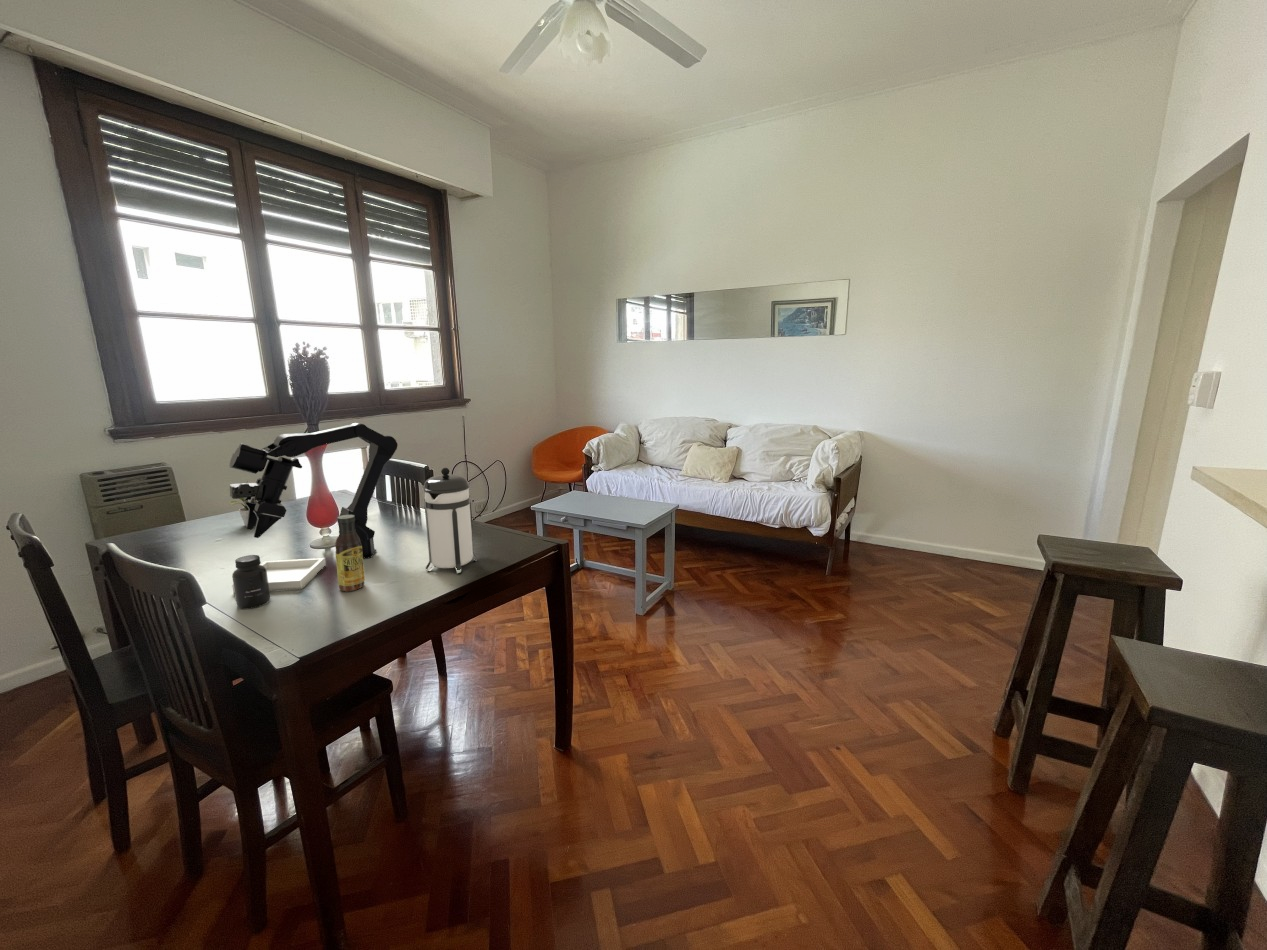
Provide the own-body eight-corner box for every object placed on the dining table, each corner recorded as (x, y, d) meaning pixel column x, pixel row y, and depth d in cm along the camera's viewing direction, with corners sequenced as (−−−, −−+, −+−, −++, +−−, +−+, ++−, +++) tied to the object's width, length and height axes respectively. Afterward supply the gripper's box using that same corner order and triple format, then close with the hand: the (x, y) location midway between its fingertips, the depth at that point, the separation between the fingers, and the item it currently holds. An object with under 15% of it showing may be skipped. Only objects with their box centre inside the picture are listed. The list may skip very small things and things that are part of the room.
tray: (325, 565, 149) (324, 557, 148) (301, 589, 133) (300, 580, 133) (265, 569, 146) (264, 561, 145) (233, 593, 130) (232, 584, 130)
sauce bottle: (347, 594, 130) (337, 522, 126) (334, 589, 134) (324, 518, 129) (371, 585, 136) (363, 515, 131) (358, 580, 139) (350, 511, 135)
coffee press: (488, 569, 147) (482, 469, 141) (430, 580, 139) (421, 475, 133) (473, 550, 162) (467, 459, 155) (420, 559, 154) (411, 464, 147)
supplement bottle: (253, 611, 122) (245, 564, 119) (230, 608, 123) (221, 562, 120) (278, 598, 128) (270, 554, 126) (255, 595, 130) (248, 552, 127)
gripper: (233, 464, 137) (210, 519, 135) (246, 475, 124) (221, 536, 123) (279, 476, 145) (258, 527, 144) (296, 487, 133) (273, 544, 131)
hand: (252, 533), depth 135 cm, fingers open, 9 cm apart
